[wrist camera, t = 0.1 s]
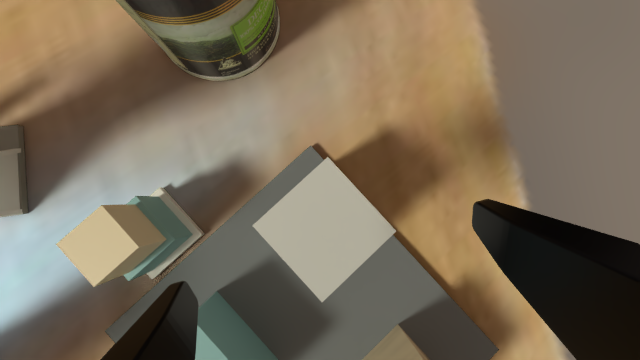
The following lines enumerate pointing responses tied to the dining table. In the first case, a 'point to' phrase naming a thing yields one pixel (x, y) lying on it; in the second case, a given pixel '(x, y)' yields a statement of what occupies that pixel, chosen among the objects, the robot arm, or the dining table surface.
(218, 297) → the teal block
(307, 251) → the grey cube
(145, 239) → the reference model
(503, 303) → the dining table surface
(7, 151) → the skyscraper
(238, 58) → the coffee can
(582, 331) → the robot arm
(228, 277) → the charcoal mat
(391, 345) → the oak cube
